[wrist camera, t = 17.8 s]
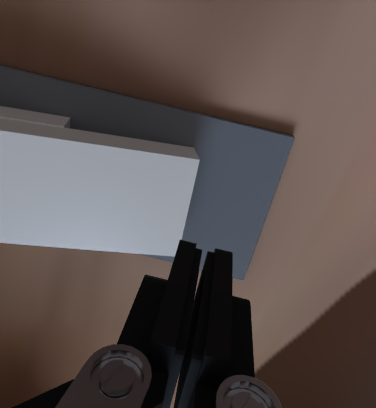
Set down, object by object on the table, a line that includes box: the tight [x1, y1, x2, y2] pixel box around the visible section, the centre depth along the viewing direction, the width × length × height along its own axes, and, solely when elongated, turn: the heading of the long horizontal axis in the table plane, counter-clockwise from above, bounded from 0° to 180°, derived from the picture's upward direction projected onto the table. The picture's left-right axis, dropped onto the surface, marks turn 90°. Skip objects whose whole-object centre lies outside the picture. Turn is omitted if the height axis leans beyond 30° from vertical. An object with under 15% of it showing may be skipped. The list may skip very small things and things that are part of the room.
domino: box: [0, 118, 200, 257], centre depth 14 cm, size 2×5×10 cm
